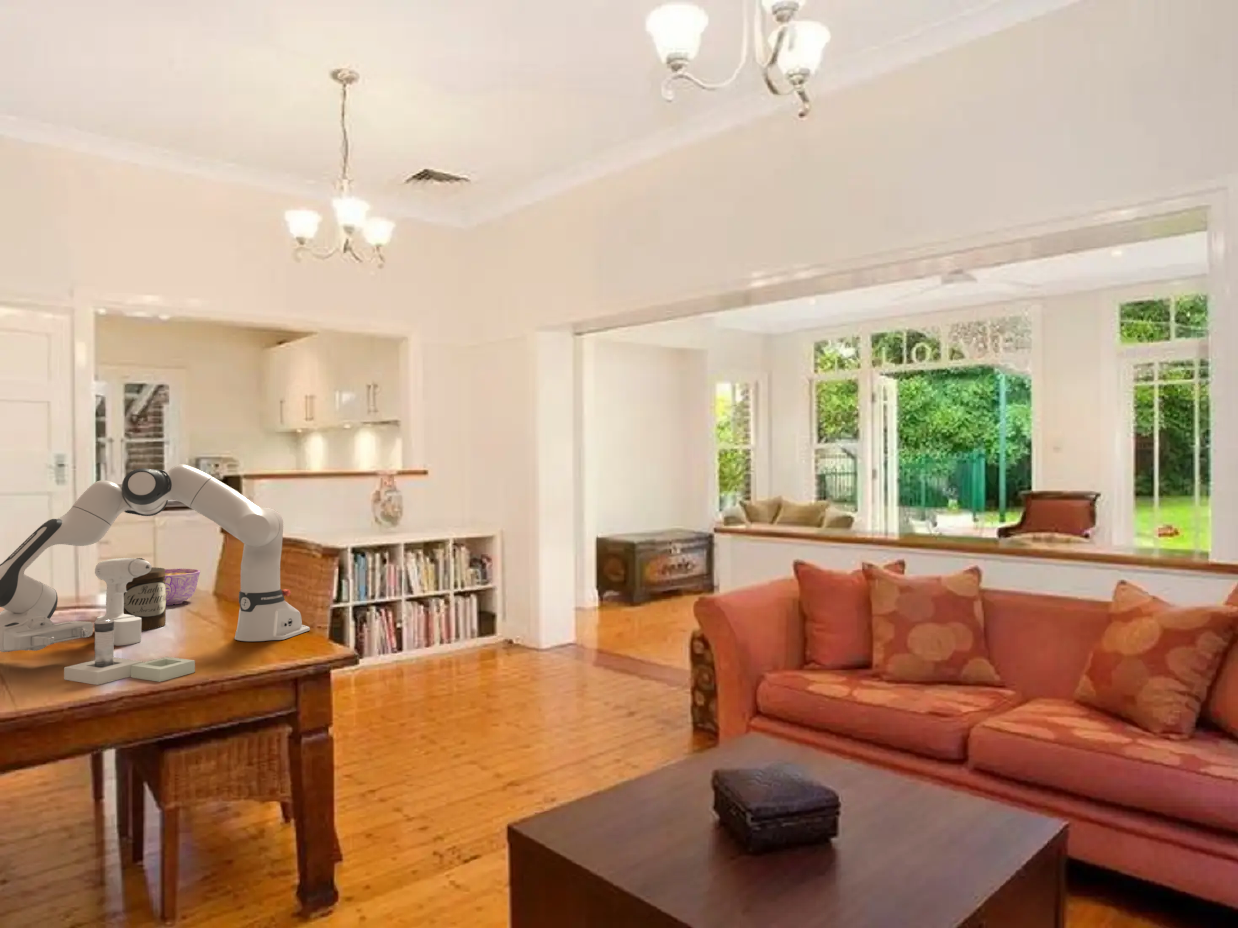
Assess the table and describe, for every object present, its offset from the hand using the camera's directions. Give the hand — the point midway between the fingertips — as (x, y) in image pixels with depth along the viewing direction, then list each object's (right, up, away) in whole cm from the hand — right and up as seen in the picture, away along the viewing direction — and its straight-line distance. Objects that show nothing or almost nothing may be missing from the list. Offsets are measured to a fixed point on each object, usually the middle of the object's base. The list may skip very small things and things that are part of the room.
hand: (69, 637), depth 216 cm
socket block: (+12, -9, -5) cm, 15 cm away
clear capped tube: (+12, -9, -5) cm, 15 cm away
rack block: (+26, -9, -3) cm, 27 cm away
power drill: (-5, -8, +33) cm, 34 cm away
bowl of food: (-26, -8, +98) cm, 102 cm away
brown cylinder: (-14, -8, +56) cm, 58 cm away
